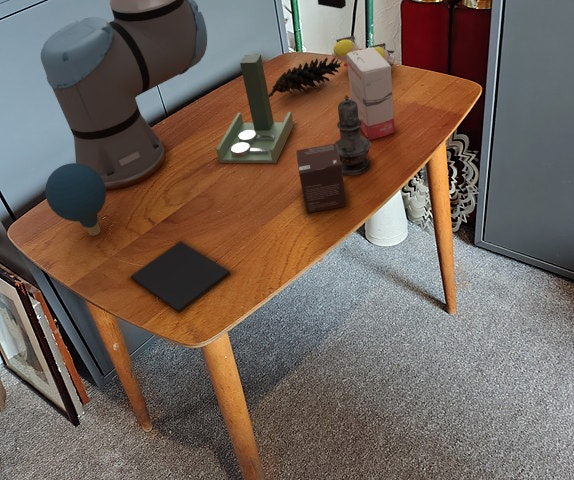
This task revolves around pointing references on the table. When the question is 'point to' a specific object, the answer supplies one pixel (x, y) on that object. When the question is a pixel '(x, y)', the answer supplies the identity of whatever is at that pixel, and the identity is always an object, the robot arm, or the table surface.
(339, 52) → the toy figures
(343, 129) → the salt shaker
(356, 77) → the ink box
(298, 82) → the pine cone
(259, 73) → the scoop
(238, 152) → the spoon
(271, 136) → the spoon
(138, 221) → the table surface
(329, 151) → the box
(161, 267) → the mat
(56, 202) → the light bulb
